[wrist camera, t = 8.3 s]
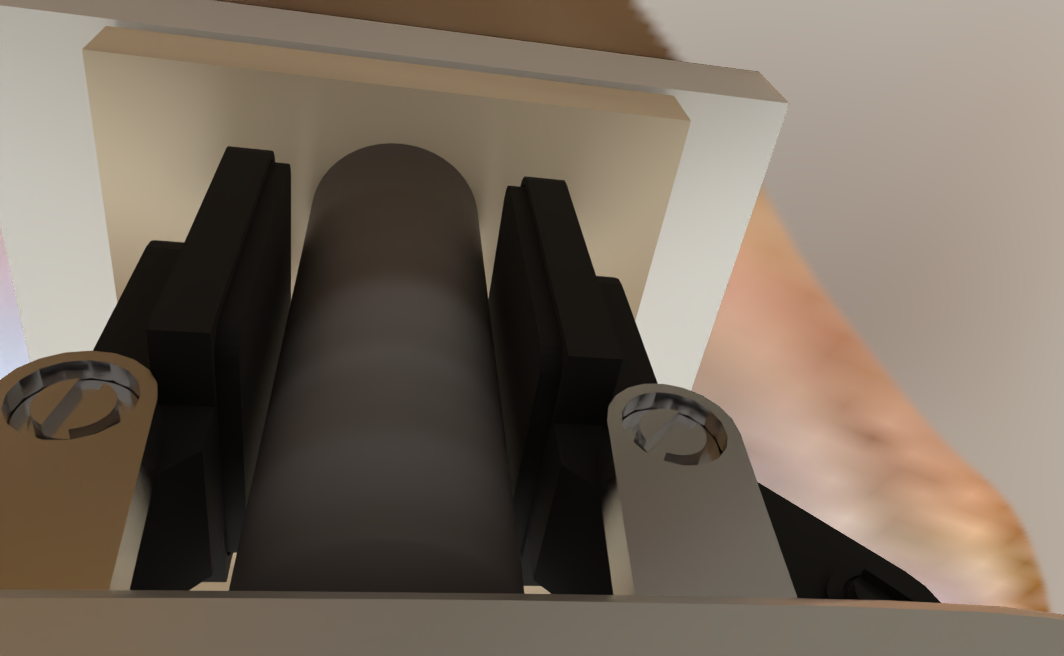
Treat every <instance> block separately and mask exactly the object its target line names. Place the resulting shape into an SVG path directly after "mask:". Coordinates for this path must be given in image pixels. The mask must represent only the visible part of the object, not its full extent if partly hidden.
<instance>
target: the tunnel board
mask: <svg viewBox="0 0 1064 656" xmlns="http://www.w3.org/2000/svg"><path fill="white" fill-rule="evenodd" d="M105 26H111V27H119V28H127V29H135V30H143V31H151V32H160V33H168V34H176V35H184V36H192V37H200V38H208V39H217V40H225V41H233V42H241V43H249V44H257V45H265V46H273V47H282V48H290V49H298V50H306V51H314V52H322V53H330V54H339V55H347V56H355V57H363V58H371V59H379V60H387V61H396V62H404V63H412V64H420V65H428V66H436V67H444V68H452V69H461V70H469V71H477V72H485V73H493V74H501V75H509V76H518V77H526V78H534V79H542V80H550V81H558V82H566V83H575V84H583V85H591V86H599V87H607V88H615V89H623V90H631V91H640V92H648V93H656V94H664V95H672V96H674V97H675V98H676V100H677V101H678V103H679V104H680V105H681V107H682V108H683V110H684V111H685V113H686V114H687V116H688V117H689V119H690V120H691V123H690V127H689V131H688V134H687V138H686V141H685V145H684V149H683V152H682V156H681V159H680V163H679V166H678V170H677V174H676V177H675V181H674V184H673V188H672V192H671V195H670V199H669V202H668V206H667V209H666V213H665V217H664V220H663V224H662V227H661V231H660V234H659V238H658V242H657V245H656V249H655V252H654V256H653V260H652V263H651V267H650V270H649V274H648V277H647V281H646V285H645V288H644V292H643V295H642V299H641V303H640V306H639V310H638V313H637V317H636V320H635V322H636V325H637V328H638V330H639V333H640V336H641V339H642V341H643V344H644V347H645V350H646V352H647V355H648V358H649V361H650V363H651V366H652V369H653V372H654V374H655V377H656V380H657V383H658V384H667V385H672V386H677V387H682V388H685V389H687V390H690V391H691V389H692V386H693V383H694V380H695V377H696V374H697V371H698V368H699V365H700V362H701V359H702V357H703V354H704V351H705V348H706V345H707V342H708V339H709V336H710V333H711V330H712V327H713V325H714V322H715V319H716V316H717V313H718V310H719V307H720V304H721V301H722V298H723V295H724V293H725V290H726V287H727V284H728V281H729V278H730V275H731V272H732V269H733V266H734V263H735V261H736V258H737V255H738V252H739V249H740V246H741V243H742V240H743V237H744V234H745V231H746V229H747V226H748V223H749V220H750V217H751V214H752V211H753V208H754V205H755V202H756V199H757V197H758V194H759V191H760V188H761V185H762V182H763V179H764V176H765V173H766V170H767V167H768V165H769V161H770V159H771V156H772V153H773V150H774V147H775V144H776V141H777V138H778V135H779V133H780V129H781V127H782V124H783V121H784V118H785V115H786V112H787V109H788V106H789V103H788V102H787V100H786V99H785V98H784V97H783V96H782V95H781V94H780V93H779V92H778V91H777V90H776V89H775V88H774V87H773V86H772V85H771V84H770V83H769V82H768V81H767V80H766V79H765V78H764V77H763V76H762V75H761V74H760V73H759V72H757V71H749V70H742V69H734V68H727V67H719V66H711V65H704V64H696V63H689V62H681V61H673V60H666V59H658V58H650V57H643V56H635V55H628V54H620V53H612V52H605V51H597V50H589V49H582V48H574V47H566V46H559V45H551V44H543V43H536V42H528V41H520V40H513V39H505V38H498V37H490V36H482V35H475V34H467V33H459V32H452V31H444V30H436V29H429V28H421V27H413V26H406V25H398V24H391V23H383V22H375V21H368V20H360V19H352V18H345V17H337V16H329V15H322V14H314V13H306V12H299V11H291V10H284V9H276V8H268V7H261V6H253V5H245V4H238V3H230V2H222V1H215V0H0V227H1V231H2V236H3V241H4V245H5V250H6V254H7V259H8V263H9V268H10V272H11V277H12V282H13V286H14V291H15V295H16V300H17V304H18V309H19V313H20V318H21V323H22V327H23V332H24V336H25V341H26V345H27V350H28V354H29V359H30V362H33V361H35V360H37V359H40V358H44V357H48V356H52V355H56V354H61V353H65V352H78V351H93V349H94V347H95V345H96V343H97V341H98V340H99V338H100V336H101V334H102V332H103V330H104V328H105V326H106V324H107V322H108V320H109V318H110V316H111V314H112V312H113V310H114V308H115V306H116V304H117V297H116V290H115V283H114V276H113V268H112V261H111V254H110V247H109V240H108V233H107V225H106V218H105V211H104V204H103V197H102V190H101V182H100V175H99V168H98V161H97V154H96V146H95V139H94V132H93V125H92V118H91V111H90V103H89V96H88V89H87V82H86V75H85V68H84V60H83V53H82V49H83V48H84V47H85V46H86V45H87V44H88V43H89V42H90V41H91V40H92V39H93V38H94V37H95V36H96V35H97V34H98V33H99V32H100V31H101V30H102V29H103V28H104V27H105Z"/></svg>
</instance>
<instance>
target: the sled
mask: <svg viewBox="0 0 1064 656" xmlns="http://www.w3.org/2000/svg"><path fill="white" fill-rule="evenodd" d="M82 53H83V60H84V68H85V75H86V82H87V89H88V96H89V103H90V111H91V118H92V125H93V132H94V139H95V146H96V154H97V161H98V168H99V175H100V182H101V190H102V197H103V204H104V211H105V218H106V225H107V233H108V240H109V247H110V254H111V261H112V268H113V276H114V283H115V290H116V297H117V302H118V301H119V299H120V297H121V295H122V293H123V291H124V289H125V287H126V285H127V283H128V281H129V279H130V277H131V275H132V273H133V271H134V269H135V267H136V265H137V263H138V262H139V260H140V258H141V256H142V254H143V252H144V250H145V248H146V246H147V245H148V244H149V242H150V241H152V240H161V241H173V242H185V240H186V237H187V235H188V233H189V231H190V228H191V226H192V224H193V222H194V219H195V217H196V215H197V213H198V210H199V208H200V206H201V204H202V201H203V199H204V197H205V195H206V192H207V190H208V188H209V186H210V183H211V181H212V179H213V177H214V174H215V172H216V170H217V168H218V165H219V163H220V161H221V159H222V156H223V154H224V152H225V150H226V148H227V147H228V146H232V147H241V148H251V149H261V150H271V151H273V152H274V155H275V162H277V163H287V164H290V167H291V304H290V309H289V313H288V318H287V323H286V327H285V332H284V337H283V341H282V346H281V351H280V355H279V360H278V364H277V369H276V374H275V378H274V383H273V388H272V392H271V397H270V402H269V406H268V411H267V415H266V420H265V425H264V429H263V434H262V439H261V443H260V448H259V452H258V457H257V462H256V466H255V471H254V476H253V480H252V485H251V490H250V494H249V499H248V503H247V508H246V513H245V517H244V522H243V527H242V531H241V536H240V541H239V545H238V550H237V553H233V555H232V560H231V564H230V569H229V574H228V578H227V582H201V583H200V584H198V585H197V586H195V587H194V588H192V589H191V590H189V591H310V592H413V593H502V594H551V593H550V592H548V591H547V590H546V589H544V588H543V587H542V586H524V585H523V577H522V569H521V561H520V553H519V544H518V536H517V528H516V520H515V512H514V504H513V496H512V488H511V479H510V471H509V463H508V455H507V447H506V439H505V431H504V423H503V415H502V406H501V398H500V390H499V382H498V374H497V366H496V358H495V350H494V342H493V333H492V325H491V317H490V309H489V301H488V298H489V292H490V286H491V279H492V273H493V267H494V260H495V254H496V248H497V241H498V235H499V228H500V222H501V216H502V209H503V203H504V197H505V192H506V188H507V186H519V187H520V186H521V182H522V179H523V178H524V177H525V176H527V177H537V178H547V179H557V180H565V182H566V184H567V187H568V190H569V193H570V196H571V199H572V202H573V206H574V209H575V212H576V215H577V218H578V221H579V224H580V227H581V230H582V233H583V237H584V240H585V243H586V246H587V249H588V252H589V255H590V258H591V261H592V265H593V268H594V271H595V274H596V276H605V277H615V278H618V279H619V280H620V282H621V284H622V286H623V289H624V292H625V295H626V297H627V300H628V303H629V306H630V308H631V311H632V314H633V317H634V319H635V320H636V317H637V313H638V310H639V306H640V303H641V299H642V295H643V292H644V288H645V285H646V281H647V277H648V274H649V270H650V267H651V263H652V260H653V256H654V252H655V249H656V245H657V242H658V238H659V234H660V231H661V227H662V224H663V220H664V217H665V213H666V209H667V206H668V202H669V199H670V195H671V192H672V188H673V184H674V181H675V177H676V174H677V170H678V166H679V163H680V159H681V156H682V152H683V149H684V145H685V141H686V138H687V134H688V131H689V127H690V123H691V120H690V119H689V117H688V116H687V114H686V113H685V111H684V110H683V108H682V107H681V105H680V104H679V103H678V101H677V100H676V98H675V97H674V96H672V95H664V94H656V93H648V92H640V91H631V90H623V89H615V88H607V87H599V86H591V85H583V84H575V83H566V82H558V81H550V80H542V79H534V78H526V77H518V76H509V75H501V74H493V73H485V72H477V71H469V70H461V69H452V68H444V67H436V66H428V65H420V64H412V63H404V62H396V61H387V60H379V59H371V58H363V57H355V56H347V55H339V54H330V53H322V52H314V51H306V50H298V49H290V48H282V47H273V46H265V45H257V44H249V43H241V42H233V41H225V40H217V39H208V38H200V37H192V36H184V35H176V34H168V33H160V32H151V31H143V30H135V29H127V28H119V27H111V26H105V27H104V28H103V29H102V30H101V31H100V32H99V33H98V34H97V35H96V36H95V37H94V38H93V39H92V40H91V41H90V42H89V43H88V44H87V45H86V46H85V47H84V48H83V49H82Z"/></svg>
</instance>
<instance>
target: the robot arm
mask: <svg viewBox="0 0 1064 656" xmlns="http://www.w3.org/2000/svg"><path fill="white" fill-rule="evenodd" d="M488 301H489V309H490V317H491V325H492V333H493V342H494V350H495V358H496V366H497V374H498V382H499V390H500V398H501V406H502V415H503V423H504V431H505V439H506V447H507V455H508V463H509V471H510V479H511V488H512V496H513V504H514V512H515V520H516V528H517V536H518V544H519V553H520V561H521V569H522V577H523V585H524V586H542V587H543V588H544V589H546V590H547V591H548V592H550V593H551V594H502V593H413V592H310V591H189V590H191V589H192V588H194V587H195V586H197V585H198V584H200V583H201V582H227V578H228V574H229V569H230V564H231V560H232V555H233V553H237V550H238V545H239V541H240V536H241V531H242V527H243V522H244V517H245V513H246V508H247V503H248V499H249V494H250V490H251V485H252V480H253V476H254V471H255V466H256V462H257V457H258V452H259V448H260V443H261V439H262V434H263V429H264V425H265V420H266V415H267V411H268V406H269V402H270V397H271V392H272V388H273V383H274V378H275V374H276V369H277V364H278V360H279V355H280V351H281V346H282V341H283V337H284V332H285V327H286V323H287V318H288V313H289V309H290V304H291V167H290V164H287V163H277V162H275V155H274V152H273V151H271V150H261V149H251V148H241V147H232V146H228V147H227V148H226V150H225V152H224V154H223V156H222V159H221V161H220V163H219V165H218V168H217V170H216V172H215V174H214V177H213V179H212V181H211V183H210V186H209V188H208V190H207V192H206V195H205V197H204V199H203V201H202V204H201V206H200V208H199V210H198V213H197V215H196V217H195V219H194V222H193V224H192V226H191V228H190V231H189V233H188V235H187V237H186V240H185V242H173V241H161V240H152V241H150V242H149V244H148V245H147V246H146V248H145V250H144V252H143V254H142V256H141V258H140V260H139V262H138V263H137V265H136V267H135V269H134V271H133V273H132V275H131V277H130V279H129V281H128V283H127V285H126V287H125V289H124V291H123V293H122V295H121V297H120V299H119V301H118V302H117V304H116V306H115V308H114V310H113V312H112V314H111V316H110V318H109V320H108V322H107V324H106V326H105V328H104V330H103V332H102V334H101V336H100V338H99V340H98V341H97V343H96V345H95V347H94V349H93V351H78V352H65V353H61V354H56V355H52V356H48V357H44V358H40V359H37V360H35V361H33V362H30V363H28V364H26V365H23V366H21V367H19V368H16V369H15V370H13V371H12V372H11V373H9V374H8V375H6V376H5V377H4V378H2V379H1V380H0V656H1064V615H1062V614H1055V613H1048V612H1040V611H1032V610H1025V609H1017V608H1009V607H1000V606H984V605H965V604H947V603H941V602H940V601H939V600H938V599H937V598H936V597H935V596H934V595H933V594H932V593H931V592H930V591H929V590H928V589H927V588H926V586H924V585H923V584H921V583H920V582H919V581H917V580H916V579H915V578H913V577H912V576H911V575H909V574H908V573H907V572H905V571H903V570H902V569H900V568H899V567H897V566H895V565H894V564H892V563H890V562H889V561H887V560H885V559H884V558H882V557H880V556H879V555H877V554H875V553H874V552H872V551H870V550H869V549H867V548H865V547H864V546H862V545H861V544H859V543H857V542H856V541H854V540H852V539H851V538H849V537H847V536H846V535H844V534H842V533H841V532H839V531H837V530H836V529H834V528H832V527H831V526H829V525H827V524H826V523H824V522H823V521H821V520H819V519H818V518H816V517H814V516H813V515H811V514H809V513H808V512H806V511H804V510H803V509H801V508H799V507H798V506H796V505H794V504H793V503H791V502H789V501H788V500H786V499H785V498H783V497H781V496H780V495H778V494H776V493H775V492H773V491H771V490H770V489H768V488H766V487H765V486H763V485H761V484H760V483H758V482H757V480H756V477H755V474H754V471H753V468H752V466H751V463H750V460H749V457H748V454H747V451H746V448H745V445H744V443H743V440H742V437H741V434H740V432H739V430H738V428H737V427H736V425H735V423H734V421H733V420H732V418H731V417H730V416H729V415H728V414H727V413H726V412H725V411H724V410H723V409H722V408H720V407H719V406H718V405H716V404H715V403H713V402H712V401H710V400H709V399H707V398H705V397H704V396H702V395H700V394H697V393H695V392H692V391H690V390H687V389H685V388H682V387H677V386H672V385H667V384H658V383H657V380H656V377H655V374H654V372H653V369H652V366H651V363H650V361H649V358H648V355H647V352H646V350H645V347H644V344H643V341H642V339H641V336H640V333H639V330H638V328H637V325H636V322H635V319H634V317H633V314H632V311H631V308H630V306H629V303H628V300H627V297H626V295H625V292H624V289H623V286H622V284H621V282H620V280H619V279H618V278H615V277H605V276H596V274H595V271H594V268H593V265H592V261H591V258H590V255H589V252H588V249H587V246H586V243H585V240H584V237H583V233H582V230H581V227H580V224H579V221H578V218H577V215H576V212H575V209H574V206H573V202H572V199H571V196H570V193H569V190H568V187H567V184H566V182H565V180H557V179H547V178H537V177H527V176H525V177H524V178H523V179H522V182H521V186H520V187H519V186H507V188H506V192H505V197H504V203H503V209H502V216H501V222H500V228H499V235H498V241H497V248H496V254H495V260H494V267H493V273H492V279H491V286H490V292H489V298H488Z"/></svg>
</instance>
